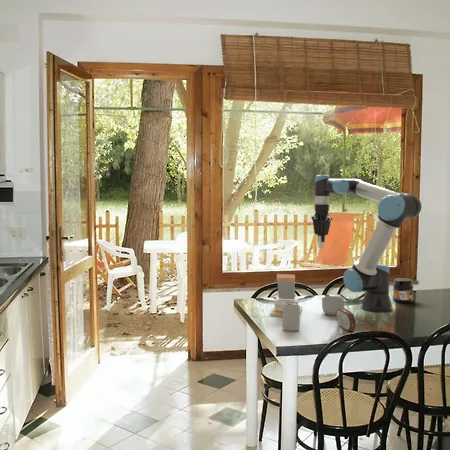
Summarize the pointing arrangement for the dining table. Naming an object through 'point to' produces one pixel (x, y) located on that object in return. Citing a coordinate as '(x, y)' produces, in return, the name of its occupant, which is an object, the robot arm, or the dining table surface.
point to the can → (291, 316)
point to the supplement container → (403, 290)
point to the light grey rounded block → (332, 304)
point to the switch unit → (281, 306)
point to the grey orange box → (286, 286)
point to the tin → (346, 319)
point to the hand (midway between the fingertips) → (320, 247)
